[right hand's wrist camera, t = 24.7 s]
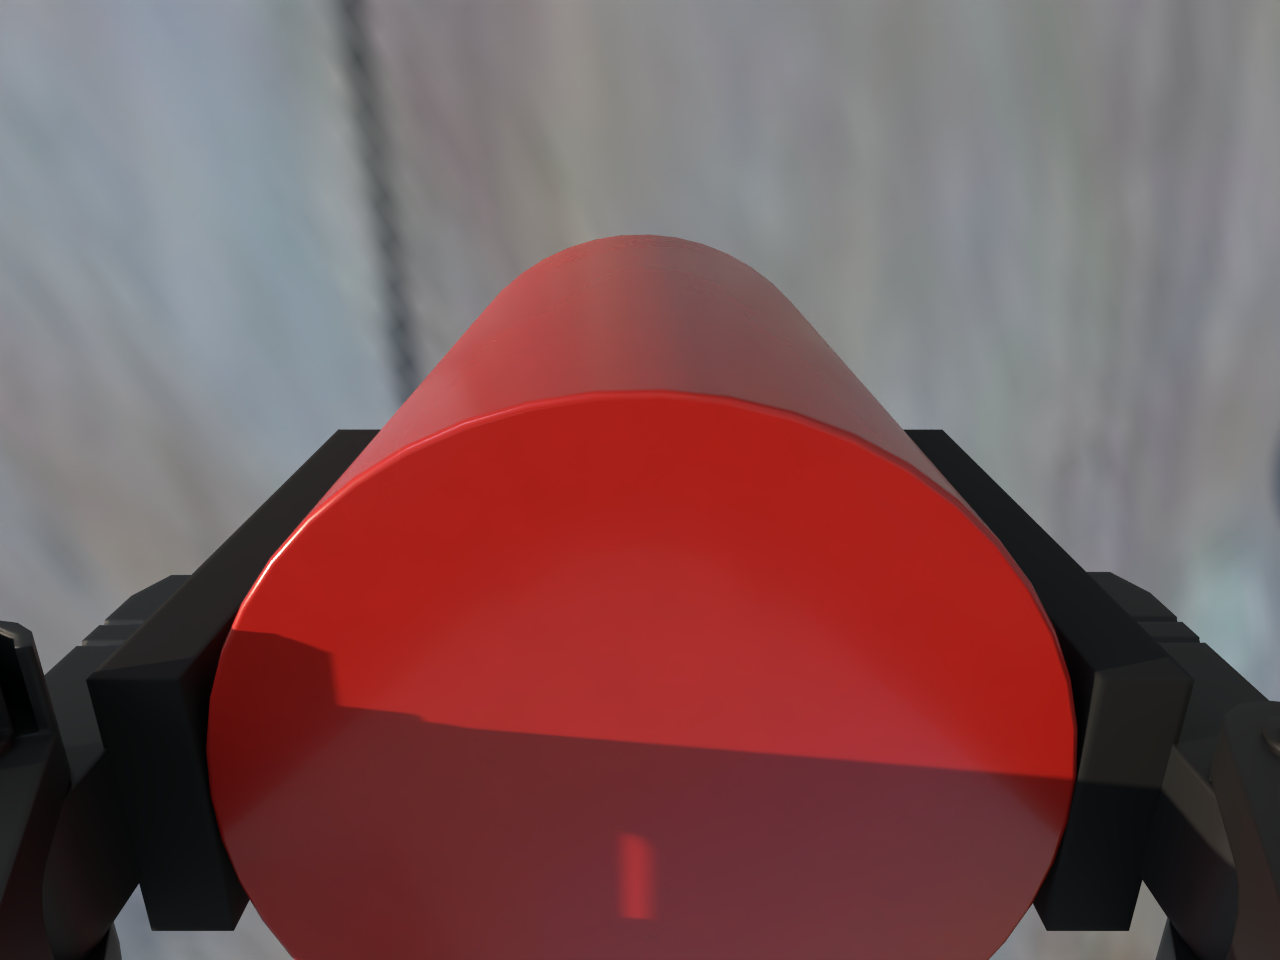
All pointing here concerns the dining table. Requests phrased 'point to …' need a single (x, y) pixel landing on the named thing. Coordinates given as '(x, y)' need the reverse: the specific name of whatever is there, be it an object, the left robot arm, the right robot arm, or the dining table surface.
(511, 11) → the dining table surface
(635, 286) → the red cylinder
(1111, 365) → the dining table surface
